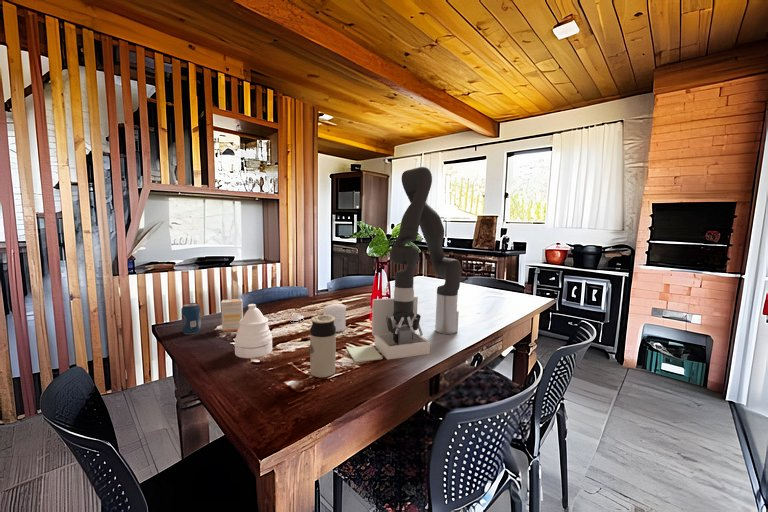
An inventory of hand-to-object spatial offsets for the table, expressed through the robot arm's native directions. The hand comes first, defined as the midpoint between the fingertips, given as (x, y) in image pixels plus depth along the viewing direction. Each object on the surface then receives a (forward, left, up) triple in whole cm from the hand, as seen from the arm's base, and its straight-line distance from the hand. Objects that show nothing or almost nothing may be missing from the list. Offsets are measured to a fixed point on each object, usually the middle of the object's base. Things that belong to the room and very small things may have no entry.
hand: (402, 341), depth 127 cm
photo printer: (+20, -28, -3) cm, 35 cm away
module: (0, 0, -1) cm, 1 cm away
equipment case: (0, 0, -3) cm, 3 cm away
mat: (+15, 0, -3) cm, 16 cm away
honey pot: (+53, -15, -3) cm, 56 cm away
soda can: (+78, -44, -3) cm, 90 cm away
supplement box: (+62, -43, -3) cm, 76 cm away
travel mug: (+32, +10, -3) cm, 34 cm away
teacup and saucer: (+32, -47, -4) cm, 57 cm away
